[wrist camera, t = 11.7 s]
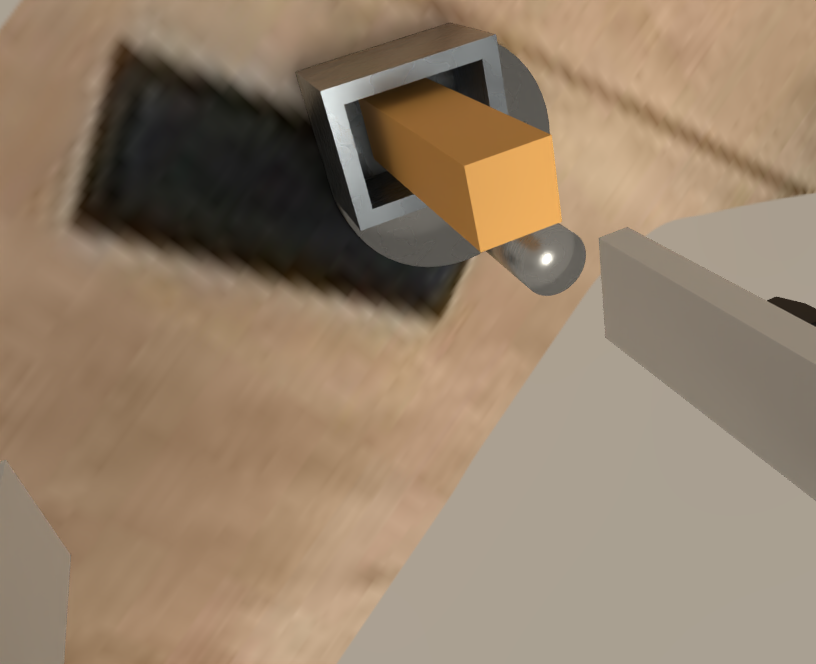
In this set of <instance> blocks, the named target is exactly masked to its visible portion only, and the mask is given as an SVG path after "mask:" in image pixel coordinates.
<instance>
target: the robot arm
mask: <svg viewBox="0 0 816 664" xmlns="http://www.w3.org/2000/svg"><path fill="white" fill-rule="evenodd" d="M599 250H600V265H601V279H602V293H603V308H604V324H605V337H606V338H607V339H608V340H609V341H611V342H612V343H613V344H614V345H616V346H617V347H618V348H620V349H621V350H622V351H623V352H625V353H626V354H627V355H629V356H630V357H631V358H633V359H634V360H635V361H636V362H638V363H639V364H640V365H642V366H643V367H644V368H645V369H647V370H648V371H649V372H650V373H652V374H653V375H654V376H656V377H657V378H658V379H659V380H661V381H662V382H663V383H665V384H666V385H667V386H668V387H670V388H671V389H672V390H674V391H675V392H676V393H677V394H679V395H680V396H681V397H683V398H684V399H685V400H686V401H688V402H689V403H690V404H692V405H693V406H694V407H695V408H697V409H698V410H699V411H701V412H702V413H703V414H705V415H706V416H707V417H708V418H710V419H711V420H712V421H714V422H715V423H716V424H717V425H719V426H720V427H721V428H723V429H724V430H725V431H727V432H728V433H729V434H730V435H732V436H733V437H734V438H735V439H737V440H738V441H739V442H741V443H742V444H743V445H744V446H746V447H747V448H748V449H750V450H751V451H752V452H754V453H755V454H756V455H757V456H759V457H760V458H761V459H762V460H764V461H765V462H766V463H768V464H769V465H770V466H771V467H773V468H774V469H775V470H777V471H778V472H779V473H781V474H782V475H783V476H784V477H786V478H787V479H788V480H789V481H791V482H792V483H793V484H795V485H796V486H797V487H798V488H800V489H801V490H802V491H804V492H805V493H806V494H807V495H809V496H810V497H811V498H813V499H814V500H815V501H816V309H815V308H813V307H811V306H809V305H807V304H805V303H801V302H797V301H792V300H788V299H784V298H780V297H774V298H772V299H770V300H767V301H766V300H764V299H762V298H760V297H758V296H756V295H754V294H753V293H751V292H748V291H747V290H745V289H743V288H741V287H739V286H737V285H736V284H734V283H732V282H730V281H728V280H726V279H724V278H722V277H721V276H719V275H717V274H715V273H713V272H711V271H709V270H707V269H705V268H704V267H701V266H700V265H698V264H696V263H694V262H692V261H690V260H689V259H687V258H685V257H683V256H681V255H679V254H677V253H675V252H673V251H671V250H670V249H668V248H666V247H664V246H662V245H660V244H658V243H656V242H655V241H653V240H651V239H649V238H647V237H645V236H643V235H641V234H639V233H638V232H636V231H634V230H632V229H630V228H628V227H626V228H624V229H621V230H618V231H616V232H613V233H610V234H608V235H605V236H602V237H600V238H599ZM70 562H71V555H70V553H69V552H68V550H67V549H66V547H65V546H64V544H63V543H62V541H61V540H60V538H59V537H58V535H57V534H56V533H55V531H54V530H53V528H52V527H51V525H50V524H49V522H48V521H47V519H46V518H45V516H44V515H43V513H42V512H41V511H40V509H39V508H38V506H37V505H36V503H35V502H34V500H33V499H32V497H31V496H30V494H29V493H28V491H27V490H26V488H25V487H24V486H23V484H22V483H21V481H20V480H19V478H18V477H17V475H16V474H15V472H14V471H13V469H12V468H11V466H10V465H9V464H8V462H7V461H6V460H4V461H1V462H0V664H64V654H65V639H66V624H67V608H68V593H69V577H70Z"/></svg>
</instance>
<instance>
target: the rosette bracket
mask: <svg viewBox="0 0 816 664" xmlns="http://www.w3.org/2000/svg"><path fill="white" fill-rule="evenodd" d="M295 73H296V77H297V80H298V83H299V86H300V90H301V93H302V96H303V100H304V103H305V106H306V110H307V113H308V116H309V119H310V123H311V126H312V129H313V133H314V136H315V139H316V142H317V146H318V149H319V152H320V156H321V159H322V162H323V165H324V169H325V172H326V175H327V179H328V182H329V185H330V188H331V192H332V195H333V197H334V199H335V202H336V204H337V206H338V208H339V210H340V211H341V213H342V215H343V217H344V218H345V219H346V221H347V222H348V223H349V225H350V226H351V227H352V229H353V230H354V231H355V232H356V234H357V235H358V236H359V237H360V238H361V239H362V240H363V241H364V242H365V243H366V244H367V245H369V246H370V247H371V248H373V249H374V250H375V251H377V252H378V253H380V254H382V255H384V256H385V257H387V258H389V259H392V260H395V261H397V262H400V263H403V264H408V265H413V266H422V267H435V266H444V265H450V264H455V263H458V262H461V261H464V260H467V259H469V258H472V257H474V256H476V255H478V254H480V253H482V252H480V251H478V250H477V249H476V248H475V247H474V246H473V245H472V244H470V243H469V242H468V241H467V240H466V239H465V238H464V237H462V236H461V235H460V234H459V233H458V232H457V231H456V230H454V229H453V228H452V227H451V226H450V225H449V224H448V223H446V222H445V221H444V220H443V219H442V218H441V217H440V216H438V215H437V214H436V213H435V212H434V211H433V210H432V209H430V208H429V207H428V206H427V205H426V204H425V203H424V202H422V201H421V200H420V199H419V198H418V197H417V196H416V195H414V194H413V193H412V192H411V191H410V190H409V189H408V188H406V187H405V186H404V185H403V184H402V183H401V182H400V181H398V180H397V179H396V178H395V177H394V176H393V175H392V174H390V173H389V172H388V171H387V170H386V169H385V168H384V167H382V166H381V165H380V164H379V163H378V162H377V161H376V160H374V157H373V154H372V150H371V146H370V142H369V138H368V135H367V131H366V127H365V123H364V119H363V116H362V112H361V108H360V104H359V99H362V98H365V97H368V96H371V95H375V94H378V93H381V92H384V91H387V90H390V89H393V88H396V87H399V86H402V85H405V84H408V83H411V82H414V81H417V80H420V79H423V78H427V79H430V80H432V81H434V82H436V83H438V84H441V85H443V86H445V87H447V88H449V89H452V90H454V91H456V92H458V93H460V94H463V95H465V96H467V97H469V98H471V99H474V100H476V101H478V102H480V103H482V104H485V105H487V106H489V107H491V108H493V109H496V110H498V111H500V112H502V113H504V114H507V115H509V116H511V117H513V118H515V119H518V120H520V121H522V122H524V123H526V124H529V125H531V126H533V127H535V128H538V129H540V130H542V131H544V132H546V133H549V134H550V132H549V120H548V114H547V109H546V105H545V102H544V99H543V96H542V93H541V91H540V89H539V87H538V85H537V83H536V81H535V79H534V78H533V76H532V75H531V73H530V72H529V70H528V69H527V68H526V67H525V65H524V64H523V63H522V62H521V61H520V60H519V59H518V58H517V57H516V56H515V55H514V54H512V53H511V52H510V51H509V50H507V49H506V48H504V47H502V46H501V45H499V44H497V38H496V34H493V33H489V32H485V31H481V30H477V29H473V28H469V27H465V26H461V25H457V24H453V23H448V24H445V25H441V26H438V27H435V28H432V29H429V30H426V31H423V32H419V33H416V34H413V35H410V36H407V37H404V38H400V39H397V40H394V41H391V42H388V43H385V44H382V45H378V46H375V47H372V48H369V49H366V50H363V51H359V52H356V53H353V54H350V55H347V56H344V57H341V58H337V59H334V60H331V61H328V62H325V63H322V64H318V65H315V66H312V67H309V68H306V69H303V70H300V71H296V72H295ZM486 252H487V253H489V254H490V255H491V256H492V257H493V258H494V259H496V260H497V261H498V262H499V263H500V264H501V265H503V266H504V267H505V268H506V269H507V270H508V271H510V272H511V273H512V274H513V275H514V276H515V277H517V278H518V279H519V280H520V281H521V282H522V283H524V284H525V285H526V286H527V287H528V288H529V289H531V290H532V291H533V292H535V293H536V294H539V295H543V296H550V295H555V294H558V293H561V292H563V291H564V290H566V289H567V288H569V287H570V286H571V285H572V284H573V283H574V282H575V281H576V280H577V278H578V277H579V276H580V274H581V272H582V270H583V267H584V264H585V259H586V251H585V246H584V244H583V242H582V240H581V239H580V238H579V237H578V236H577V235H576V234H574V233H573V232H571V231H570V230H568V229H567V228H565V227H564V226H562V225H561V224H559V223H557V224H554V225H552V226H549V227H546V228H544V229H541V230H539V231H536V232H533V233H531V234H528V235H525V236H523V237H520V238H517V239H515V240H512V241H510V242H507V243H504V244H502V245H499V246H496V247H494V248H491V249H488V250H486Z"/></svg>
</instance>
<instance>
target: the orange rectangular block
mask: <svg viewBox="0 0 816 664" xmlns="http://www.w3.org/2000/svg"><path fill="white" fill-rule="evenodd" d="M359 104H360V108H361V112H362V116H363V119H364V123H365V127H366V131H367V135H368V138H369V142H370V146H371V150H372V154H373V157H374V160H376V161H377V162H378V163H379V164H380V165H381V166H382V167H384V168H385V169H386V170H387V171H388V172H389V173H390V174H392V175H393V176H394V177H395V178H396V179H397V180H398V181H400V182H401V183H402V184H403V185H404V186H405V187H406V188H408V189H409V190H410V191H411V192H412V193H413V194H414V195H416V196H417V197H418V198H419V199H420V200H421V201H422V202H424V203H425V204H426V205H427V206H428V207H429V208H430V209H432V210H433V211H434V212H435V213H436V214H437V215H438V216H440V217H441V218H442V219H443V220H444V221H445V222H446V223H448V224H449V225H450V226H451V227H452V228H453V229H454V230H456V231H457V232H458V233H459V234H460V235H461V236H462V237H464V238H465V239H466V240H467V241H468V242H469V243H470V244H472V245H473V246H474V247H475V248H476V249H477V250H478V251H480V252H483V251H486V250H488V249H491V248H494V247H496V246H499V245H502V244H504V243H507V242H510V241H512V240H515V239H517V238H520V237H523V236H525V235H528V234H531V233H533V232H536V231H539V230H541V229H544V228H546V227H549V226H552V225H554V224H557V223H560V222H562V219H561V210H560V202H559V193H558V185H557V177H556V168H555V160H554V151H553V143H552V135H551V134H549V133H546V132H544V131H542V130H540V129H538V128H535V127H533V126H531V125H529V124H526V123H524V122H522V121H520V120H518V119H515V118H513V117H511V116H509V115H507V114H504V113H502V112H500V111H498V110H496V109H493V108H491V107H489V106H487V105H485V104H482V103H480V102H478V101H476V100H474V99H471V98H469V97H467V96H465V95H463V94H460V93H458V92H456V91H454V90H452V89H449V88H447V87H445V86H443V85H441V84H438V83H436V82H434V81H432V80H430V79H427V78H423V79H420V80H417V81H414V82H411V83H408V84H405V85H402V86H399V87H396V88H393V89H390V90H387V91H384V92H381V93H378V94H375V95H371V96H368V97H365V98H362V99H359Z"/></svg>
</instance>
